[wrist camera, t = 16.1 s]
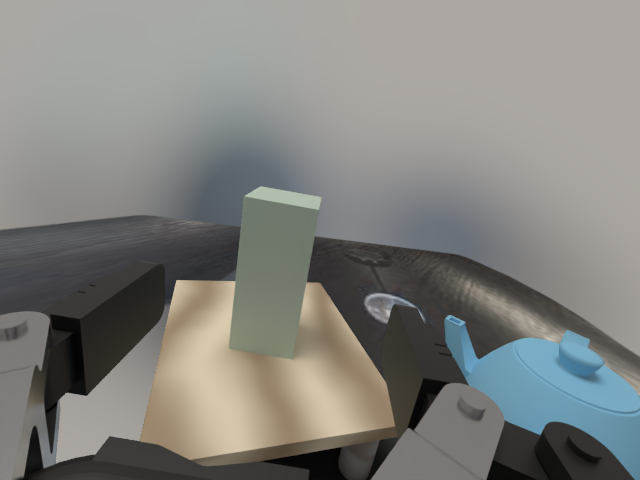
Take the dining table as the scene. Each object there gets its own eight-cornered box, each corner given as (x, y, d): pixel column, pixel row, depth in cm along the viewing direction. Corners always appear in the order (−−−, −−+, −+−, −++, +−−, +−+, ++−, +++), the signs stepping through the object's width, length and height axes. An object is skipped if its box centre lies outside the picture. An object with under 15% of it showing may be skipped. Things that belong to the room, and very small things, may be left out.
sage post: (298, 324, 29) (321, 197, 26) (292, 359, 24) (318, 209, 21) (245, 314, 29) (260, 186, 25) (228, 348, 24) (244, 196, 21)
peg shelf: (311, 325, 40) (319, 282, 38) (390, 488, 22) (412, 423, 21) (174, 329, 35) (176, 280, 33) (133, 550, 17) (133, 469, 15)
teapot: (717, 574, 21) (823, 454, 18) (512, 571, 19) (588, 437, 16) (544, 394, 35) (585, 311, 32) (418, 382, 33) (448, 292, 30)
